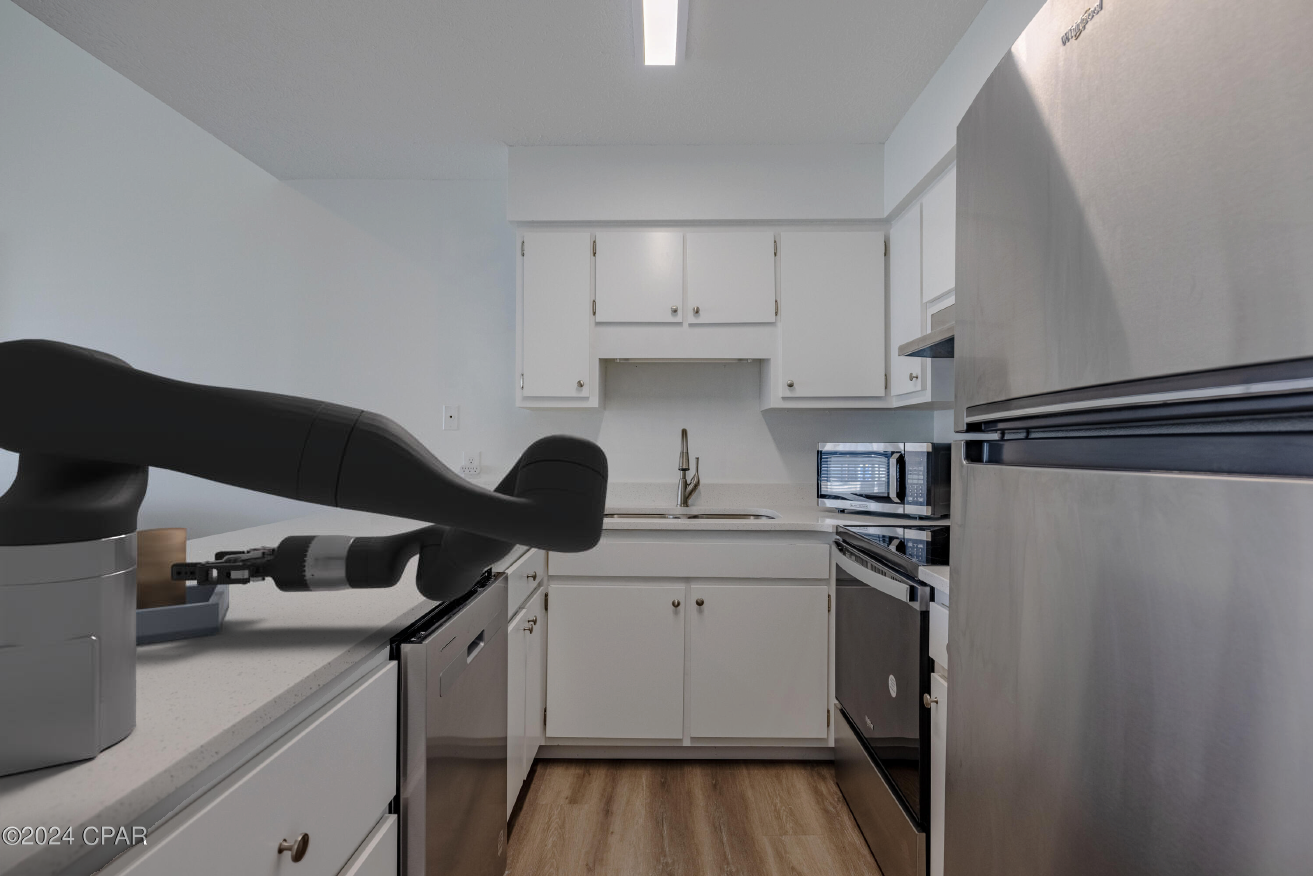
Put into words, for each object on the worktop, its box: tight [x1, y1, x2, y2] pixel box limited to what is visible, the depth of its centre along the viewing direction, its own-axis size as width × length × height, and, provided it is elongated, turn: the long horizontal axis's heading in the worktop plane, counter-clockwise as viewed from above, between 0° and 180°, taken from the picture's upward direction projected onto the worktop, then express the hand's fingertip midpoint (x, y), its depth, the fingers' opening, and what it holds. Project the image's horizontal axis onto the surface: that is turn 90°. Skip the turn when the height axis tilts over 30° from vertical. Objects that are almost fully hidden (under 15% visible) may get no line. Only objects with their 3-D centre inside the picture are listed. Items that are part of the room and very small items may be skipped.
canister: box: [136, 527, 187, 610], centre depth 81 cm, size 5×5×12 cm
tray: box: [136, 583, 230, 646], centre depth 81 cm, size 14×14×4 cm
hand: (195, 565), depth 81 cm, fingers open, 8 cm apart
